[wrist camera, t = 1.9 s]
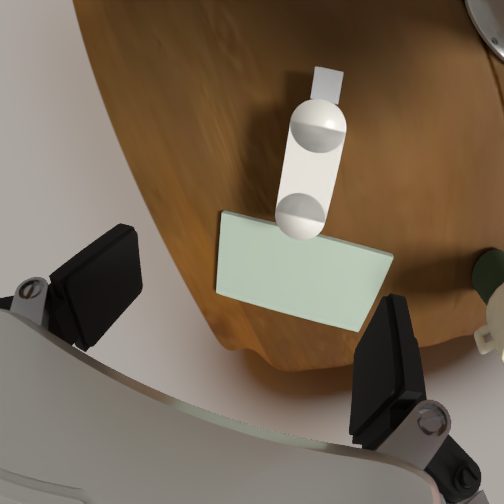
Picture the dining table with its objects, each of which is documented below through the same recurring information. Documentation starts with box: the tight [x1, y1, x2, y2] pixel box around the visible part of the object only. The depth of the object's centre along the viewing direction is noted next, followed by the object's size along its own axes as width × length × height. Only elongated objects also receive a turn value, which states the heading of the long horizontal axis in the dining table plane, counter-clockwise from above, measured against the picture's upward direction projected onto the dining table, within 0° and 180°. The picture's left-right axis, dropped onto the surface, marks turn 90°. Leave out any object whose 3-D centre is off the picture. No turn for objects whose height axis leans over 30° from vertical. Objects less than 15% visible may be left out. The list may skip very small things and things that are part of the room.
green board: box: [216, 210, 394, 332], centre depth 34 cm, size 20×12×1 cm, turn 83°
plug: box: [275, 66, 346, 240], centre depth 24 cm, size 4×15×6 cm, turn 173°
